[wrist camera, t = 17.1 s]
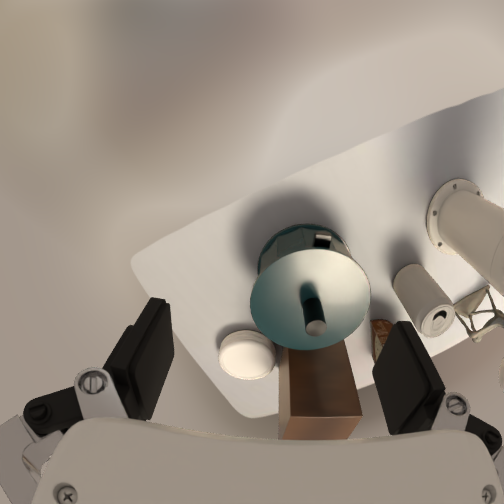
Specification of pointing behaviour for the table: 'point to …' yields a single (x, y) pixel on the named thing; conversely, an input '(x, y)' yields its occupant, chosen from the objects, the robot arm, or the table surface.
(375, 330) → the food container
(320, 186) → the table surface
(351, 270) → the lid
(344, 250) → the pot
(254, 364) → the white short cylinder
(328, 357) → the stand
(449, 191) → the robot arm
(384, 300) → the table surface
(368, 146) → the table surface
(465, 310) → the figurine
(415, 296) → the beverage can
